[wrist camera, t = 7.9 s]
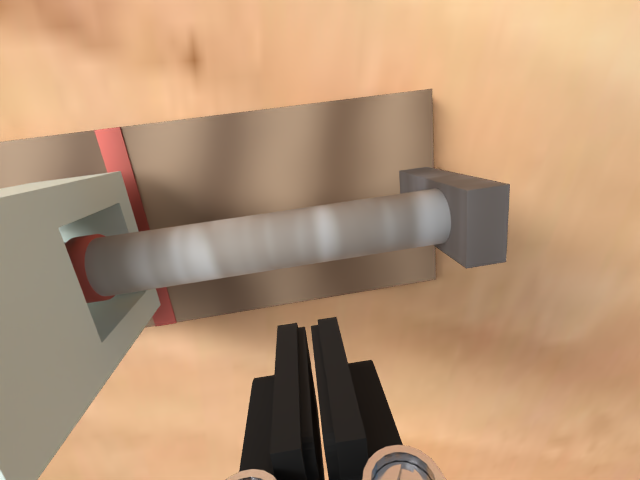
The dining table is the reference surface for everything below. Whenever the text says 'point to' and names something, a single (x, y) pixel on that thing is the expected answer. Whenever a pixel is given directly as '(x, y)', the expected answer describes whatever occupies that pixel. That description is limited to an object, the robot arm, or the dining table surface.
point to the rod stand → (272, 205)
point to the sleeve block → (57, 314)
